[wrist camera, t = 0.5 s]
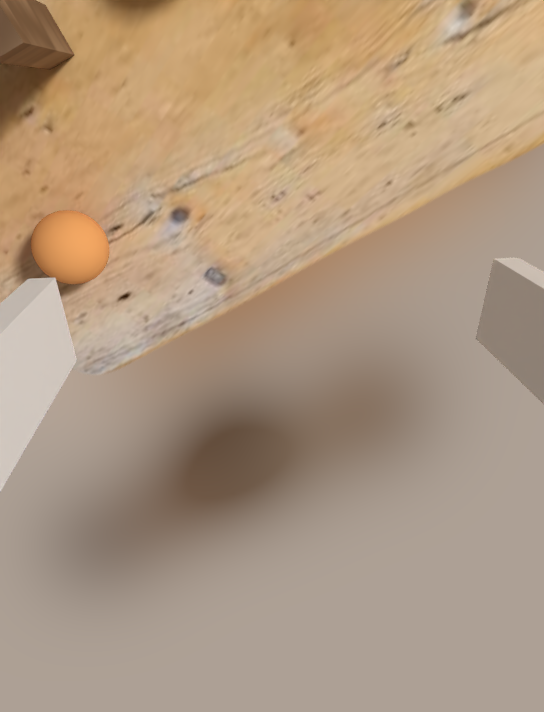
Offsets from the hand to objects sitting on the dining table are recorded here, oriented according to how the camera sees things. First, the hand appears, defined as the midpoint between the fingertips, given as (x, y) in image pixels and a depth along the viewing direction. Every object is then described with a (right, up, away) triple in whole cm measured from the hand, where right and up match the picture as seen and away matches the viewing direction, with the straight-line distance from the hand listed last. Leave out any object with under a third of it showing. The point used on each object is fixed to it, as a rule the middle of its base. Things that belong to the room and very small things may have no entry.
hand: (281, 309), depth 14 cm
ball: (-16, +7, +21) cm, 27 cm away
